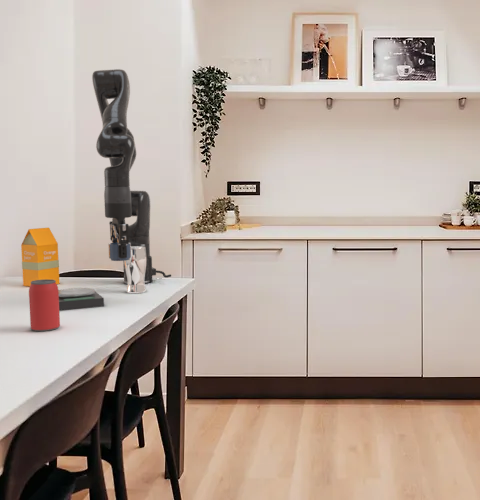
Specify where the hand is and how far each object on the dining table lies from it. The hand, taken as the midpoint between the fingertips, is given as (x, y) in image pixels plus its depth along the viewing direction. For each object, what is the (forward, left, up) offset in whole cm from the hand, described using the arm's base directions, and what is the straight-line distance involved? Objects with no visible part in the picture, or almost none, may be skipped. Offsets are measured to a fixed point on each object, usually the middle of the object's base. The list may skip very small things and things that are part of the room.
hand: (120, 256), depth 186 cm
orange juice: (+17, -46, -14) cm, 51 cm away
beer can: (+24, +26, -14) cm, 38 cm away
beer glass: (-8, -15, -14) cm, 22 cm away
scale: (+12, -3, -14) cm, 19 cm away
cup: (0, 0, -1) cm, 1 cm away
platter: (+12, -4, -11) cm, 17 cm away
